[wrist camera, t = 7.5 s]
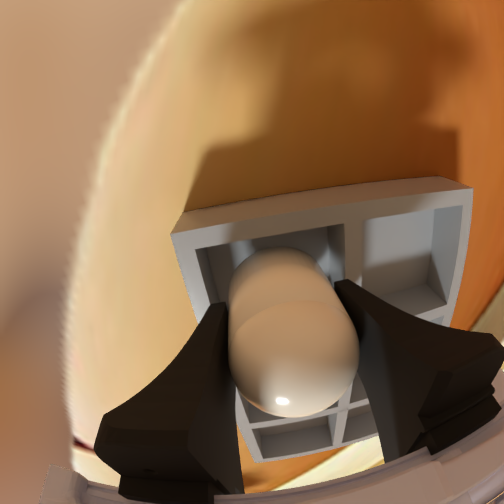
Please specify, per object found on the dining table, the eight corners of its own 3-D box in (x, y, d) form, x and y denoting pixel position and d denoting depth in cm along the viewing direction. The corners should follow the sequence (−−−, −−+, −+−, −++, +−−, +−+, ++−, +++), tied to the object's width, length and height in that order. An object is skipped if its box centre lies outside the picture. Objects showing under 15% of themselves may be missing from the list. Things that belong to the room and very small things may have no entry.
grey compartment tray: (439, 175, 13) (473, 188, 11) (397, 401, 22) (408, 423, 19) (182, 212, 13) (170, 234, 11) (252, 436, 22) (255, 463, 19)
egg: (322, 238, 12) (390, 332, 6) (326, 319, 14) (369, 421, 8) (218, 256, 12) (209, 370, 6) (238, 336, 14) (244, 447, 8)
